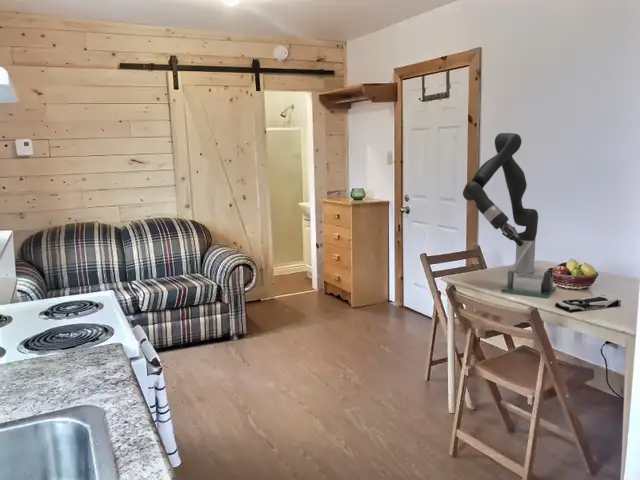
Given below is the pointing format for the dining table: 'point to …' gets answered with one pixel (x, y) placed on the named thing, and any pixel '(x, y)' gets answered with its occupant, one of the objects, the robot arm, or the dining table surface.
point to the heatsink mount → (530, 284)
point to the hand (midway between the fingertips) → (522, 245)
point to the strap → (520, 257)
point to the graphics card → (588, 303)
